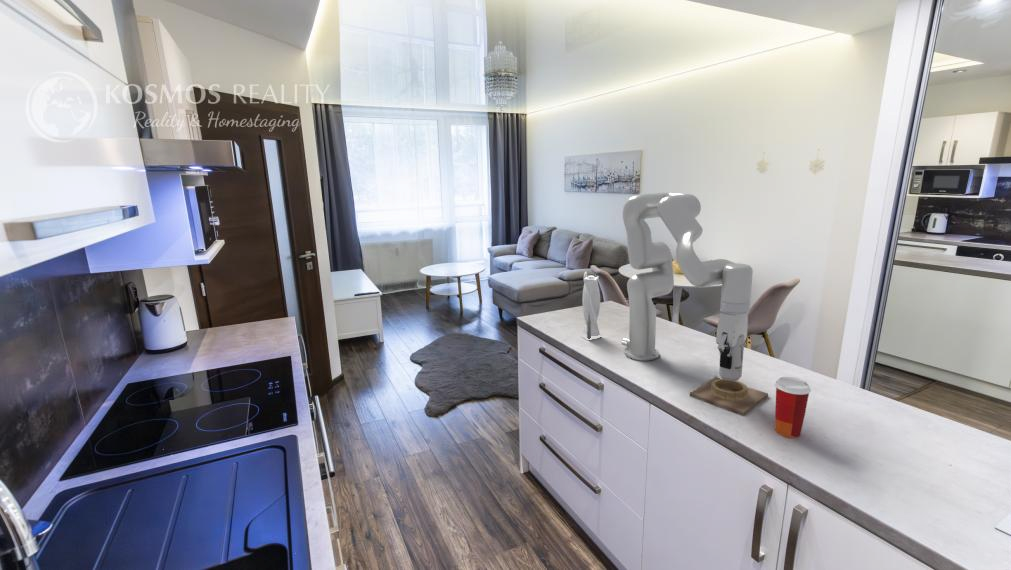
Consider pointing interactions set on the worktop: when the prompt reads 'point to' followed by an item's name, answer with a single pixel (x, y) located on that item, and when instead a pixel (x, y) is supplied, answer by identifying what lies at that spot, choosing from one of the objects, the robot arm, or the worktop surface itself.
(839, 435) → the worktop surface
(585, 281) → the skyscraper
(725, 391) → the ring stand
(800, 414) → the paper cup
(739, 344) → the energy drink can
